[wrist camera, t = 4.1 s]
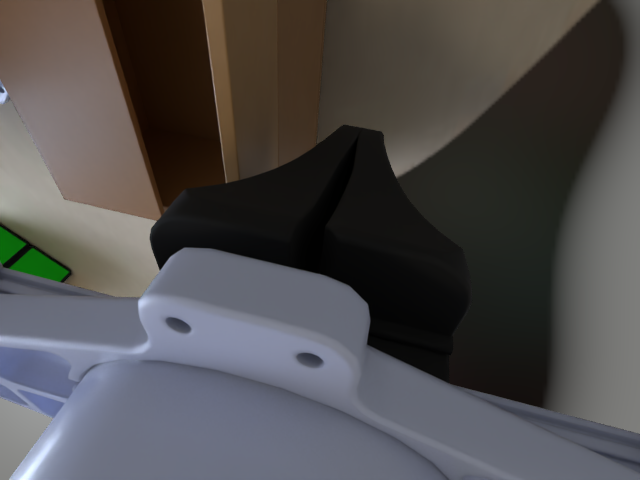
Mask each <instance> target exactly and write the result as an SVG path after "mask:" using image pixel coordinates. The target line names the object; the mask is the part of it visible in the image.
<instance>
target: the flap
mask: <svg viewBox="0 0 640 480" xmlns="http://www.w3.org/2000/svg"><path fill="white" fill-rule="evenodd" d="M202 3H203V11H204V18H205V26H206V34H207V41H208V49H209V56H210V64H211V72H212V79H213V87H214V95H215V102H216V110H217V117H218V125H219V133H220V140H221V148H222V156H223V163H224V171H225V178H226V183H228V182H233V181H237V180H241V179H245V178H249V177H252V176H255V175H258V174H261V173H264V172H267V171H270V170H273V169H275V168H277V167H278V89H277V0H202Z"/></svg>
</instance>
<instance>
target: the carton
mask: <svg viewBox="0 0 640 480" xmlns="http://www.w3.org/2000/svg"><path fill="white" fill-rule="evenodd" d="M326 8H327V0H277V89H278V167H280V166H282V165H284V164H286V163H288V162H290V161H292V160H294V159H296V158H298V157H299V156H301V155H303V154H304V153H306V152H307V151H309V150H311V149H312V148H314V147H315V146H316V141H317V128H318V114H319V101H320V88H321V75H322V61H323V48H324V35H325V22H326ZM0 80H1V82H2V84H3V86H4V88H5V90H6V91H7V93H8V95H9V97H10V99H11V101H12V103H13V104H14V106H15V108H16V110H17V112H18V114H19V116H20V118H21V119H22V121H23V123H24V125H25V127H26V129H27V131H28V133H29V134H30V136H31V138H32V140H33V142H34V144H35V146H36V147H37V149H38V151H39V153H40V155H41V157H42V159H43V161H44V162H45V164H46V166H47V168H48V170H49V172H50V174H51V176H52V177H53V179H54V181H55V183H56V185H57V187H58V189H59V190H60V192H61V194H62V196H63V198H64V199H66V200H70V201H74V202H78V203H83V204H87V205H91V206H96V207H100V208H104V209H108V210H113V211H117V212H121V213H126V214H130V215H134V216H139V217H143V218H147V219H151V220H156V221H158V220H159V218H160V217H161V216H162V215H163V214H164V212H165V211H166V210H167V209H168V207H169V206H170V205H171V204H172V203H173V201H174V200H175V199H176V198H177V197H178V196H179V195H180V194H181V193H182V192H183V191H184V190H185V189H186V188H195V187H203V186H211V185H218V184H223V183H226V178H225V171H224V163H223V156H222V148H221V140H220V133H219V125H218V117H217V110H216V102H215V95H214V87H213V79H212V72H211V64H210V56H209V49H208V41H207V34H206V26H205V18H204V11H203V3H202V0H0Z"/></svg>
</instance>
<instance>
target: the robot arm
mask: <svg viewBox="0 0 640 480" xmlns="http://www.w3.org/2000/svg"><path fill="white" fill-rule="evenodd" d="M9 99H10V97H9V95H8V93H7V91H6V90H5V88H4V86H3V84H2V82H1V80H0V104H5V103H7V102H8V101H9ZM150 242H151V247H152V250H153V253H154V256H155V259H156V261H157V264H158V267H159V270H160V272H159V273H158V274H157V276H156V277H155V278H154V280H153V281H152V282H151V284H150V285H149V286H148V288H147V289H146V291H145V292H144V293H143V295H142V296H141V297H115V296H111V295H107V294H103V293H99V292H96V291H92V290H88V289H84V288H80V287H76V286H73V285H69V284H65V283H61V282H57V281H53V280H50V279H46V278H42V277H38V276H34V275H31V274H27V273H23V272H19V271H15V270H11V269H8V268H4V267H3V266H2V263H1V262H0V398H2V399H5V400H8V401H10V402H13V403H15V404H18V405H21V406H23V407H26V408H29V409H31V410H34V411H36V412H38V413H41V414H44V415H46V416H49V417H51V418H54V419H53V420H52V421H51V423H50V424H49V426H48V427H47V428H46V430H45V431H44V432H43V434H42V435H41V436H40V438H39V439H38V441H37V442H36V443H35V445H34V446H33V447H32V449H31V450H30V451H29V453H28V454H27V456H26V457H25V458H24V460H23V461H22V462H21V464H20V465H19V467H18V468H17V469H16V471H15V472H14V473H13V475H12V476H11V477H10V479H9V480H640V434H638V433H634V432H631V431H627V430H623V429H619V428H615V427H611V426H607V425H604V424H600V423H596V422H592V421H588V420H585V419H581V418H577V417H573V416H569V415H565V414H562V413H558V412H554V411H550V410H547V409H543V408H539V407H535V406H531V405H527V404H523V403H520V402H516V401H512V400H508V399H504V398H501V397H497V396H493V395H489V394H485V393H482V392H478V391H474V390H470V389H466V388H462V387H458V386H455V385H451V384H449V355H451V353H452V351H453V334H454V333H455V331H456V330H457V328H458V327H459V325H460V323H461V322H462V320H463V319H464V317H465V315H466V314H467V312H468V310H469V307H470V305H471V302H472V287H471V280H470V275H469V270H468V266H467V263H466V259H465V255H464V252H463V249H462V248H461V247H459V246H458V245H457V244H455V243H454V242H453V241H451V240H450V239H448V238H447V237H446V236H444V235H443V234H442V233H441V232H439V231H438V230H437V229H436V228H435V227H434V226H433V225H431V224H430V223H429V222H428V221H427V220H426V219H425V218H424V217H423V216H422V215H421V214H420V213H419V211H418V210H417V209H416V208H415V207H414V205H413V204H412V203H411V202H410V201H409V199H408V198H407V196H406V195H405V193H404V191H403V190H402V188H401V186H400V184H399V183H398V181H397V179H396V176H395V174H394V172H393V170H392V167H391V165H390V162H389V159H388V156H387V153H386V149H385V145H384V135H383V133H382V132H381V131H376V130H371V129H365V128H360V127H354V126H349V125H343V126H341V127H340V128H338V129H337V130H336V131H335V132H333V133H332V134H331V135H330V136H328V137H327V138H326V139H325V140H323V141H322V142H320V143H319V144H318V145H316V146H315V147H314V148H312V149H311V150H309V151H307V152H306V153H304V154H303V155H301V156H299V157H298V158H296V159H294V160H292V161H290V162H288V163H286V164H284V165H282V166H280V167H277V168H275V169H273V170H270V171H267V172H264V173H261V174H258V175H255V176H252V177H249V178H245V179H241V180H237V181H233V182H228V183H223V184H218V185H211V186H203V187H195V188H186V189H185V190H184V191H183V192H182V193H181V194H180V195H179V196H178V197H177V198H176V199H175V200H174V201H173V203H172V204H171V205H170V206H169V207H168V209H167V210H166V211H165V212H164V214H163V215H162V216H161V217H160V218H159V220H158V221H157V222H156V223H155V224H154V226H153V227H152V228H151V233H150Z"/></svg>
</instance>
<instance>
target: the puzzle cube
mask: <svg viewBox="0 0 640 480" xmlns="http://www.w3.org/2000/svg"><path fill="white" fill-rule="evenodd" d="M0 262H1V263H2V266H3V267H4V268H8V269H11V270H15V271H19V272H23V273H27V274H31V275H34V276H38V277H42V278H46V279H50V280H53V281H57V282H61V283H64V281H65V280H66V279H67V278H68V277H69V276H70V275H71V271H70V270H69V269H67V268H66V267H64V266H63V265H61V264H60V263H58V262H57V261H55V260H54V259H52V258H51V257H49V256H48V255H46V254H45V253H43V252H41V251H40V250H38V249H37V248H35V247H29V243H28V242H26V241H25V240H23V239H22V238H20V237H19V236H17V235H16V234H14V233H13V232H11V231H10V230H8V229H7V228H5V227H4V226H2V225H1V224H0Z"/></svg>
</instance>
